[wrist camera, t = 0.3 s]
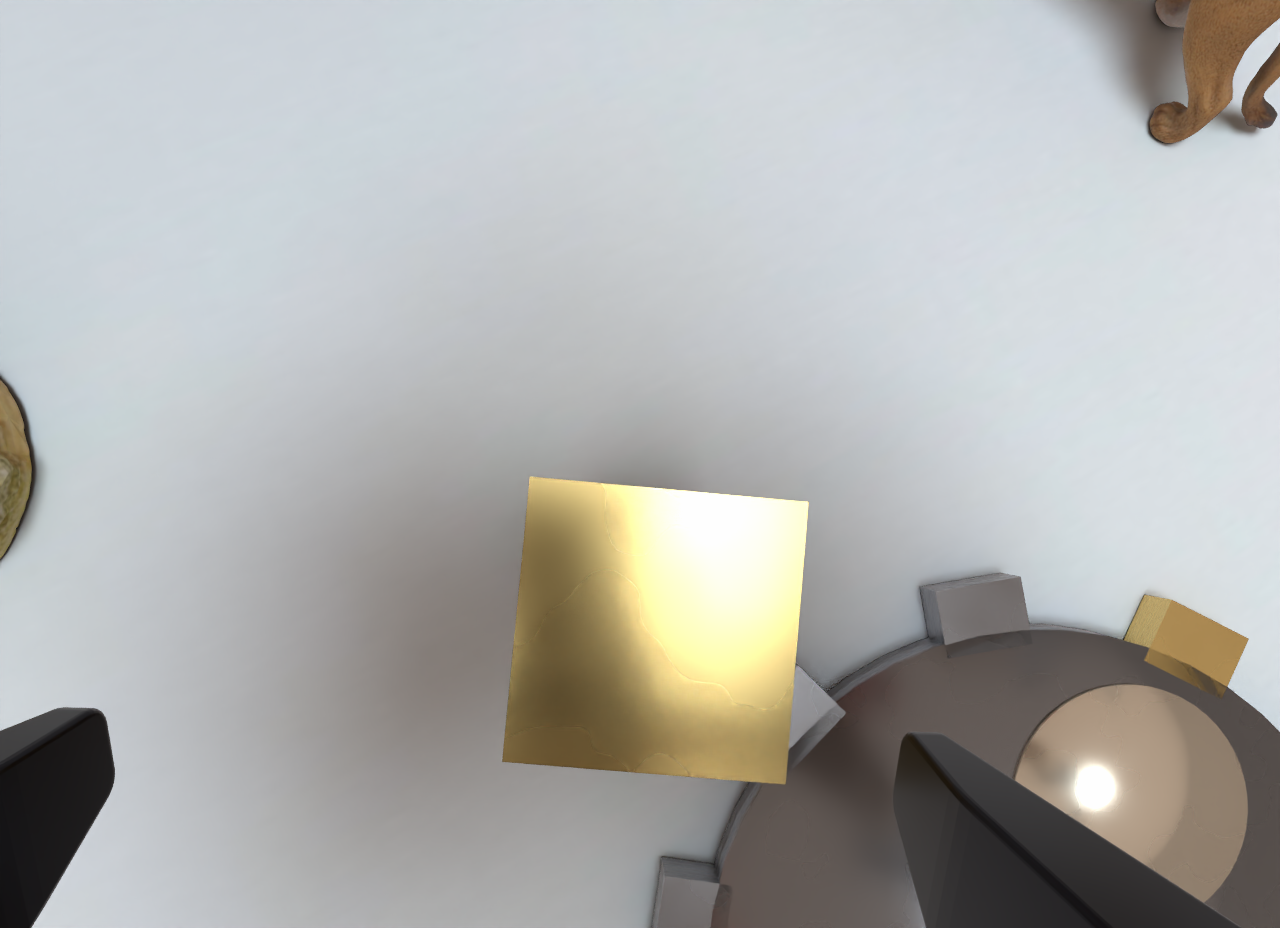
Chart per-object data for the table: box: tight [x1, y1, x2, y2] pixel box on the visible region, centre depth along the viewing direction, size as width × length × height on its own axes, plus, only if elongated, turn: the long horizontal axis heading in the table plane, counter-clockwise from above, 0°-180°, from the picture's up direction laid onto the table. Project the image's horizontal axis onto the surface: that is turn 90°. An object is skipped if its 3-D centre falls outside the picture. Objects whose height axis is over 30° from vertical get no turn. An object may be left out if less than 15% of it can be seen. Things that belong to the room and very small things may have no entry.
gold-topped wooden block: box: [502, 477, 809, 785], centre depth 18 cm, size 4×4×13 cm
